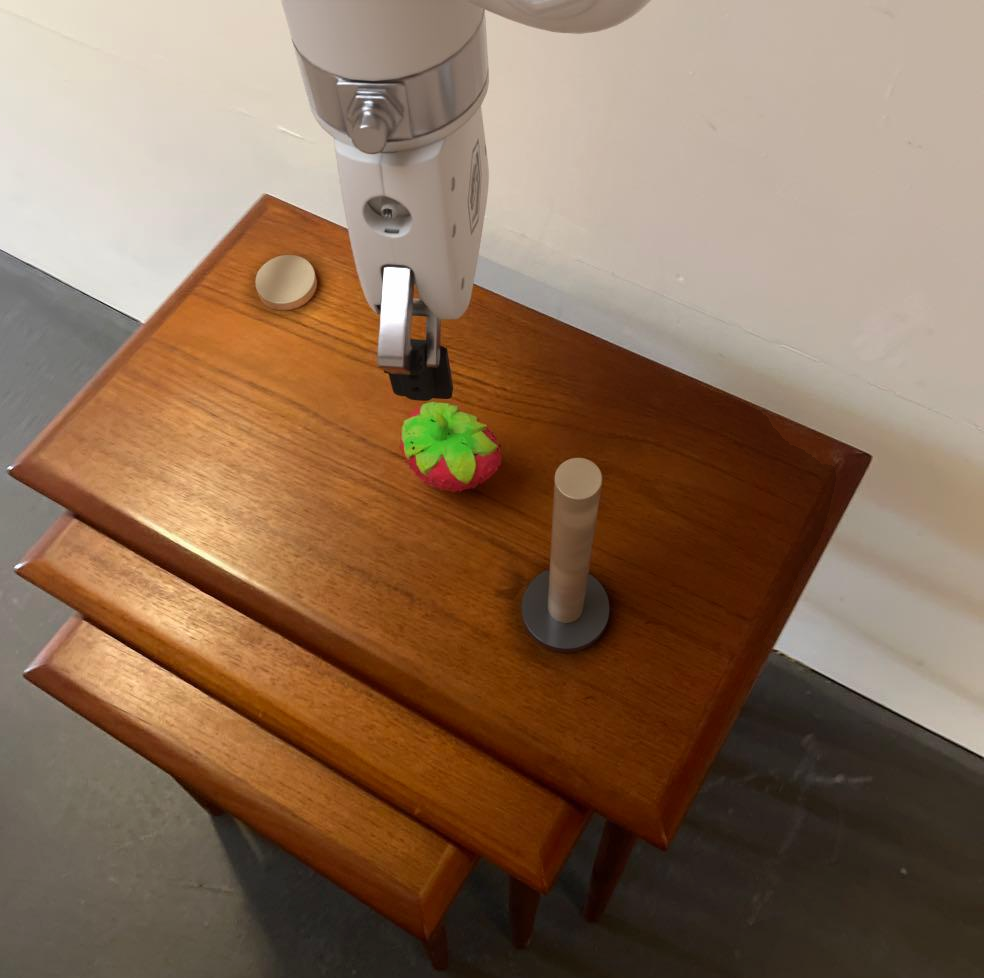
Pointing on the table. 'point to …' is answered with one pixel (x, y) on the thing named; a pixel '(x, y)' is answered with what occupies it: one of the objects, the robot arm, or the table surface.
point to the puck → (286, 282)
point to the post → (569, 567)
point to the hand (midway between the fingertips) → (437, 319)
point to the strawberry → (449, 447)
